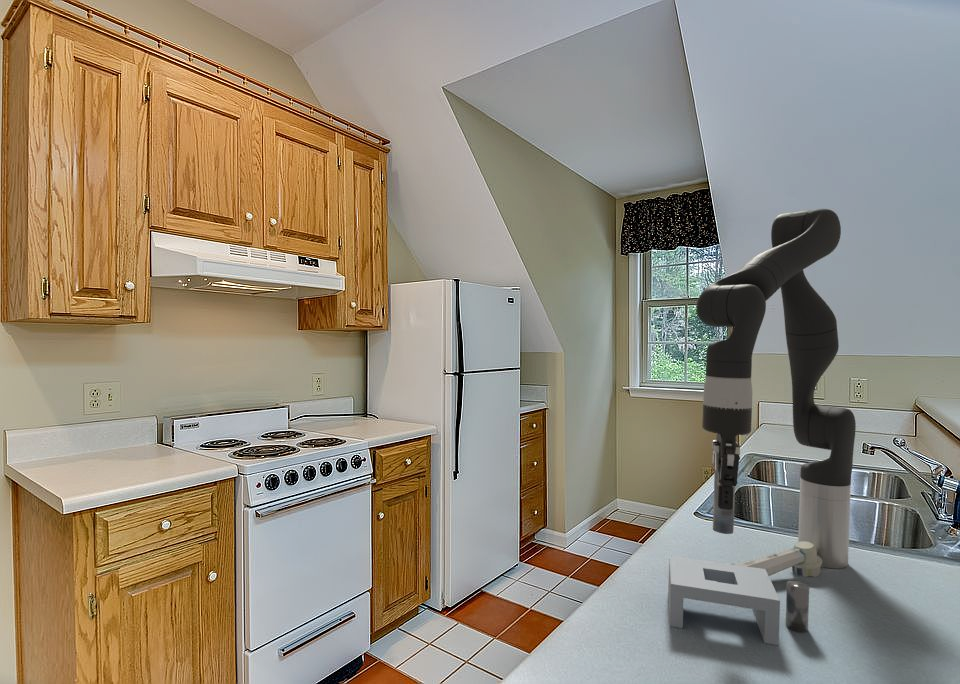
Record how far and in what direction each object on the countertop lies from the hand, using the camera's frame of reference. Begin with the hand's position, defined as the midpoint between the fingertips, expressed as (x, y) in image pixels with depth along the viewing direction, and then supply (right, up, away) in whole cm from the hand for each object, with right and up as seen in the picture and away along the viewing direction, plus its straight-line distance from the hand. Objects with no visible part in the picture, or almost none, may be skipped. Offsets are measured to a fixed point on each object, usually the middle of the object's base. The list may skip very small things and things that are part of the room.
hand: (723, 504), depth 93 cm
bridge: (-1, -19, +1) cm, 19 cm away
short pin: (+11, -20, -2) cm, 23 cm away
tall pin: (0, -4, 0) cm, 4 cm away
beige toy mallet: (+16, -20, +16) cm, 30 cm away
